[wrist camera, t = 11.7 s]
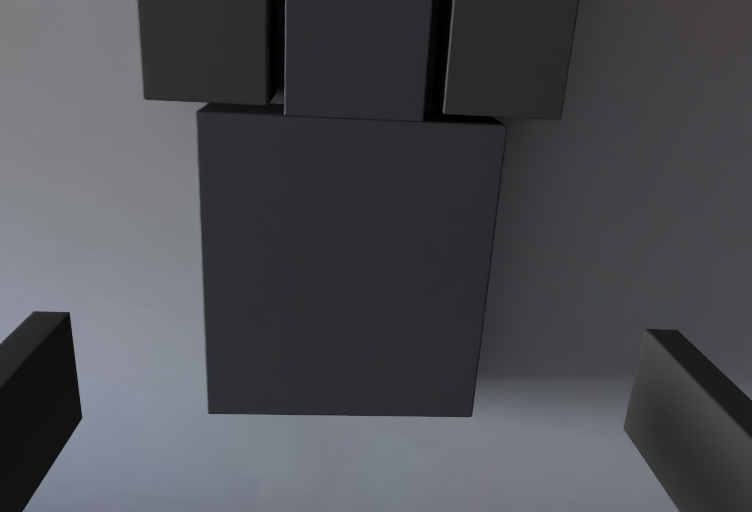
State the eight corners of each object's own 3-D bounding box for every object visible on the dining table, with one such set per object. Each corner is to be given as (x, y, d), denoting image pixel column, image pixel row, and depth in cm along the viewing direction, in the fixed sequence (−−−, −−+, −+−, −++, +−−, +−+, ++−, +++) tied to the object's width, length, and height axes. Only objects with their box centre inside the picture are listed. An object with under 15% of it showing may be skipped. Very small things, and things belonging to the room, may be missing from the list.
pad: (503, -12, 20) (525, -15, 18) (459, 379, 25) (472, 417, 22) (206, -30, 19) (188, -36, 17) (219, 375, 24) (207, 414, 22)
